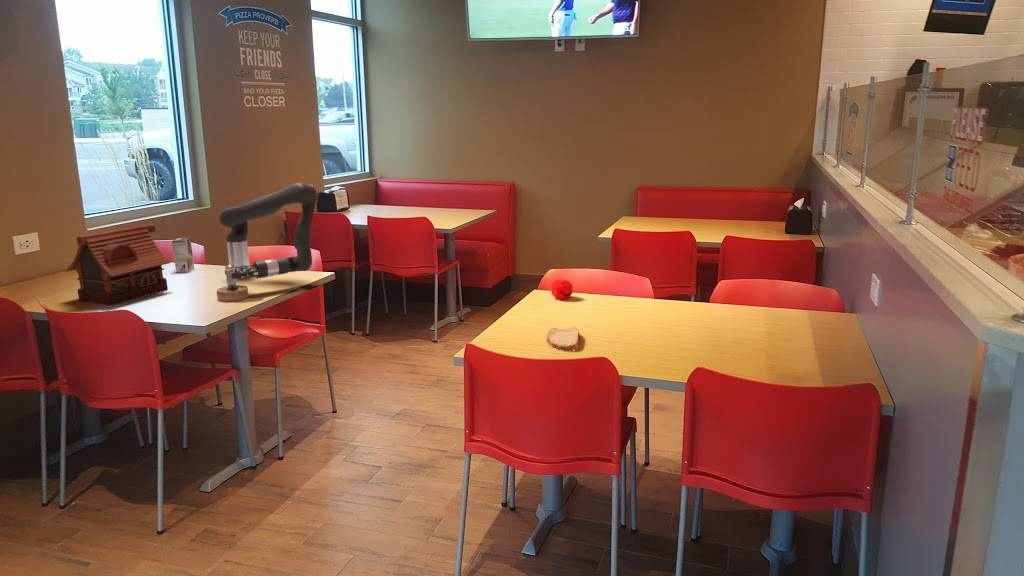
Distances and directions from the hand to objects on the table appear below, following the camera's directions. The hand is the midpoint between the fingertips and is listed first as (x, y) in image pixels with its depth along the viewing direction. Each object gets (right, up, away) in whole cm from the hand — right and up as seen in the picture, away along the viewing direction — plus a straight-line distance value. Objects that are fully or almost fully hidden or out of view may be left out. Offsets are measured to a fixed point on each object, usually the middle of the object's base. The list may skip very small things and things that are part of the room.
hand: (228, 274), depth 308 cm
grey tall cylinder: (+1, -10, +3) cm, 11 cm away
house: (-49, -9, +10) cm, 51 cm away
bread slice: (+139, -25, -59) cm, 153 cm away
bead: (+1, -10, +3) cm, 11 cm away
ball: (+142, -10, -4) cm, 142 cm away
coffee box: (-44, +3, +57) cm, 72 cm away
